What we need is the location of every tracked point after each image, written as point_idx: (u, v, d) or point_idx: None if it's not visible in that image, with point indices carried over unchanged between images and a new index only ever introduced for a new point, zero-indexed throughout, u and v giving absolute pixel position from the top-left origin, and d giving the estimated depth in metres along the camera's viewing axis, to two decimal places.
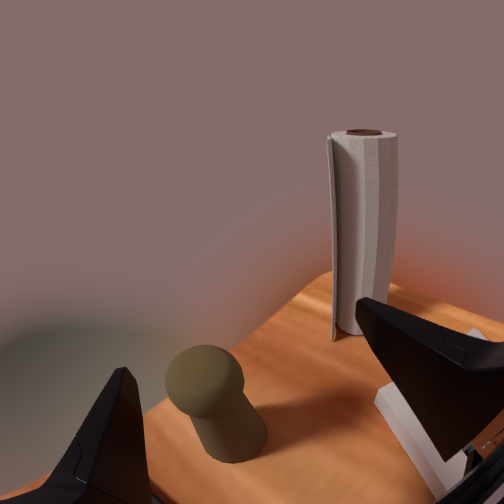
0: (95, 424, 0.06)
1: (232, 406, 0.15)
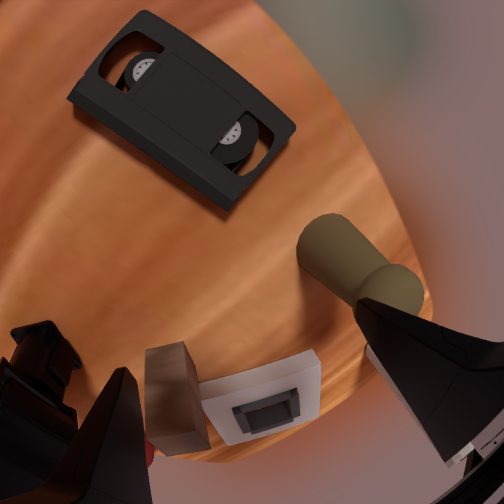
0: (95, 424, 0.06)
1: None
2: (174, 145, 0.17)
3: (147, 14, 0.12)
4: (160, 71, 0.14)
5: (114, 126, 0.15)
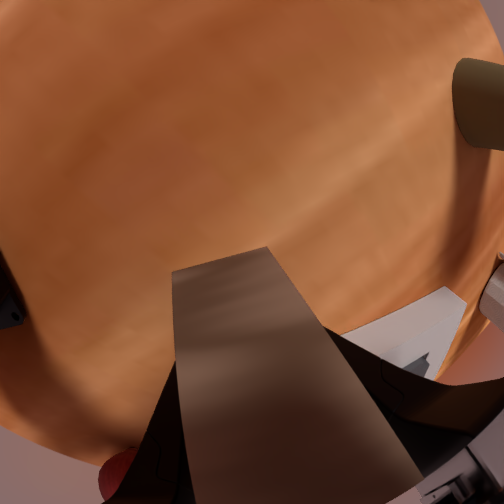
0: (169, 415, 0.06)
1: None
2: None
3: None
4: None
5: None
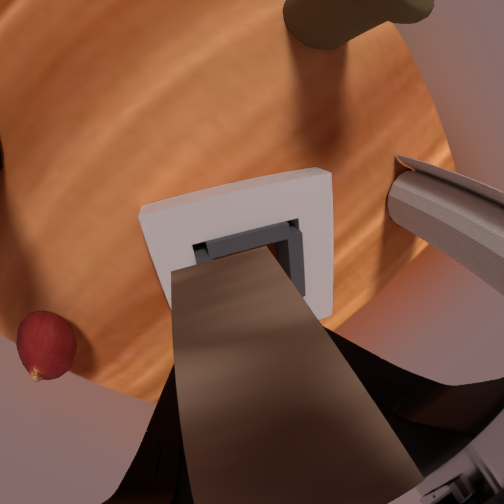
0: (169, 415, 0.06)
1: None
2: None
3: None
4: None
5: None
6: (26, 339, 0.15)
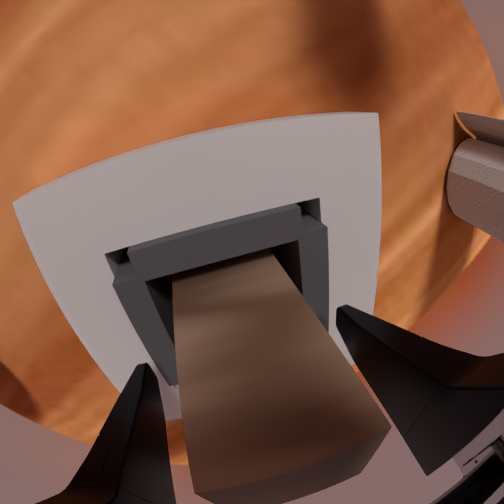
0: (120, 422, 0.06)
1: None
2: None
3: None
4: None
5: None
6: None
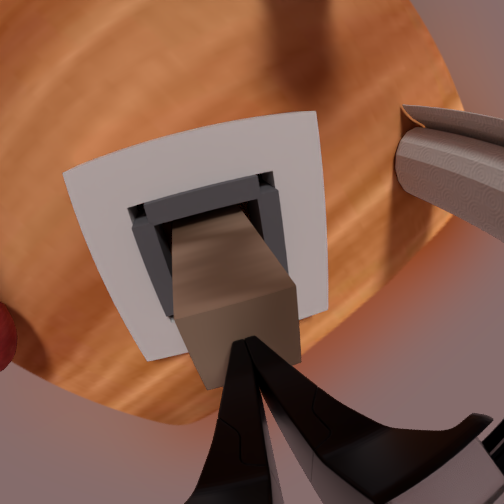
0: (241, 399, 0.07)
1: None
2: None
3: None
4: None
5: None
6: None
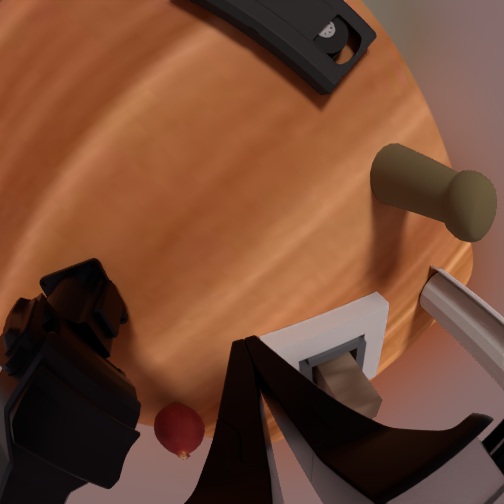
0: (241, 399, 0.07)
1: (447, 226, 0.16)
2: (281, 29, 0.14)
3: None
4: None
5: (223, 6, 0.13)
6: (172, 434, 0.24)
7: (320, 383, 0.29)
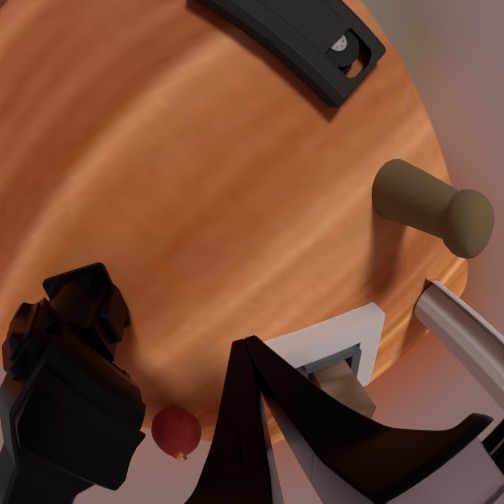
0: (241, 399, 0.07)
1: (445, 243, 0.17)
2: (295, 41, 0.15)
3: None
4: None
5: (239, 15, 0.13)
6: (170, 436, 0.24)
7: None
